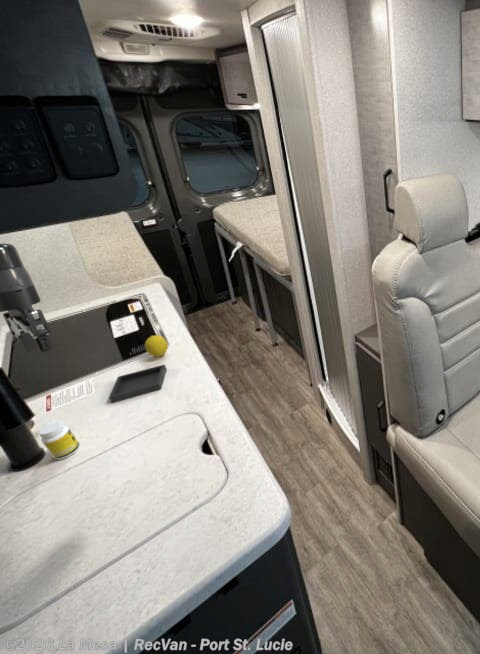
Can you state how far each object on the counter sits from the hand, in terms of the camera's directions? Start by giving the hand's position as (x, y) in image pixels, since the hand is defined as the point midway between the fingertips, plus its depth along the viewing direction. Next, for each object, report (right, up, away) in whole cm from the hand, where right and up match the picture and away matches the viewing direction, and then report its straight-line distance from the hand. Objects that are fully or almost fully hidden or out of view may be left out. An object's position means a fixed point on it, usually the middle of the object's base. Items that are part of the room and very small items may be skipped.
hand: (39, 350), depth 94 cm
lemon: (+6, -8, +31) cm, 33 cm away
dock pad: (+9, -14, +19) cm, 25 cm away
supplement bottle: (+8, -25, -1) cm, 26 cm away
